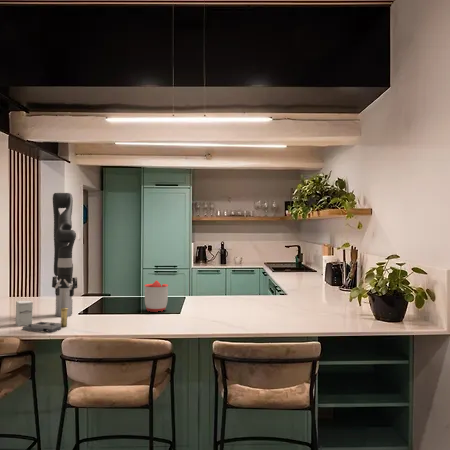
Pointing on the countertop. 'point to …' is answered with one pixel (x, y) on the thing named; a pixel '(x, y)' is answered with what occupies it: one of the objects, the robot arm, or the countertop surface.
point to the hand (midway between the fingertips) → (64, 296)
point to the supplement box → (24, 312)
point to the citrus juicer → (156, 296)
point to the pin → (64, 317)
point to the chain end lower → (32, 328)
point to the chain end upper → (47, 326)
